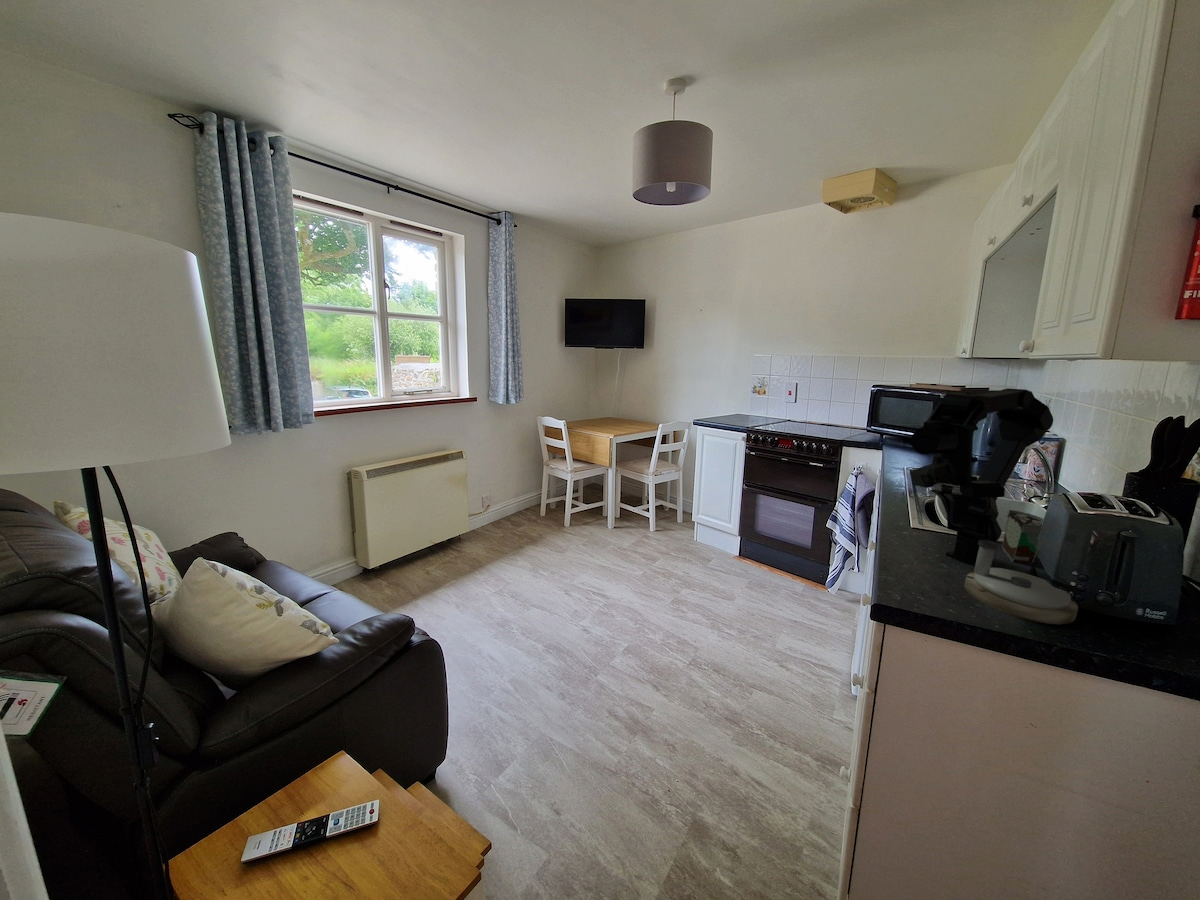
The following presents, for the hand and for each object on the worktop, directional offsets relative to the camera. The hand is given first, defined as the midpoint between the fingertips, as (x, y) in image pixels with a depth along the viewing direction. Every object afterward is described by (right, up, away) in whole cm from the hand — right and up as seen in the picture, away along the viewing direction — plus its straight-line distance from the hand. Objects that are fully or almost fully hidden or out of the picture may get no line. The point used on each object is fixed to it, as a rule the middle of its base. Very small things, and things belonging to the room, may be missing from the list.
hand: (953, 523), depth 98 cm
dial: (+6, -12, -9) cm, 16 cm away
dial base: (+6, -14, -8) cm, 17 cm away
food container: (+26, -10, +11) cm, 30 cm away
